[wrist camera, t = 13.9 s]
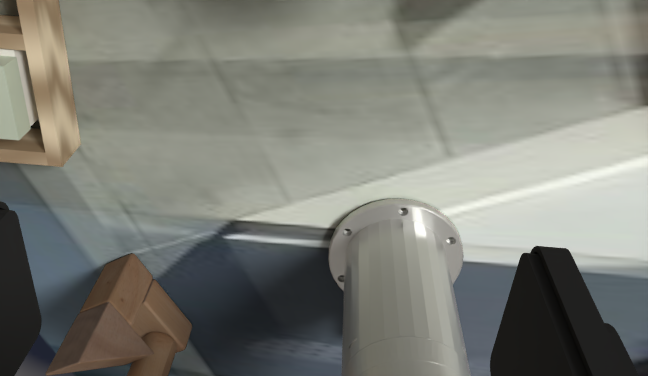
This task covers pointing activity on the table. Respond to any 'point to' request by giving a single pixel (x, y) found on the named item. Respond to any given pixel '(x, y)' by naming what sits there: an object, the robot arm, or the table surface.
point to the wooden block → (124, 325)
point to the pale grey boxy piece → (16, 95)
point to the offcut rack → (42, 84)
